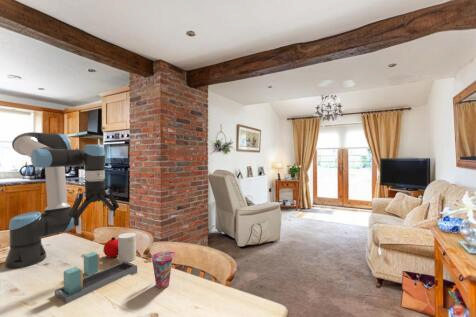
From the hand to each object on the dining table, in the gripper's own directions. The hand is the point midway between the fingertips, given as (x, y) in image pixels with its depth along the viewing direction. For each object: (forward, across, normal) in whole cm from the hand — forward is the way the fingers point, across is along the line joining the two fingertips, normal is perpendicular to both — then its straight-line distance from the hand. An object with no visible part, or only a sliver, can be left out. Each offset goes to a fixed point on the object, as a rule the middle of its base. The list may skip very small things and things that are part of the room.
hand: (95, 228), depth 104 cm
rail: (+20, -3, -9) cm, 22 cm away
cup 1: (+21, +17, +3) cm, 27 cm away
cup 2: (+20, +10, -31) cm, 39 cm away
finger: (+20, -1, +2) cm, 21 cm away
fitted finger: (+19, -13, -9) cm, 25 cm away
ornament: (+21, +15, +11) cm, 28 cm away
